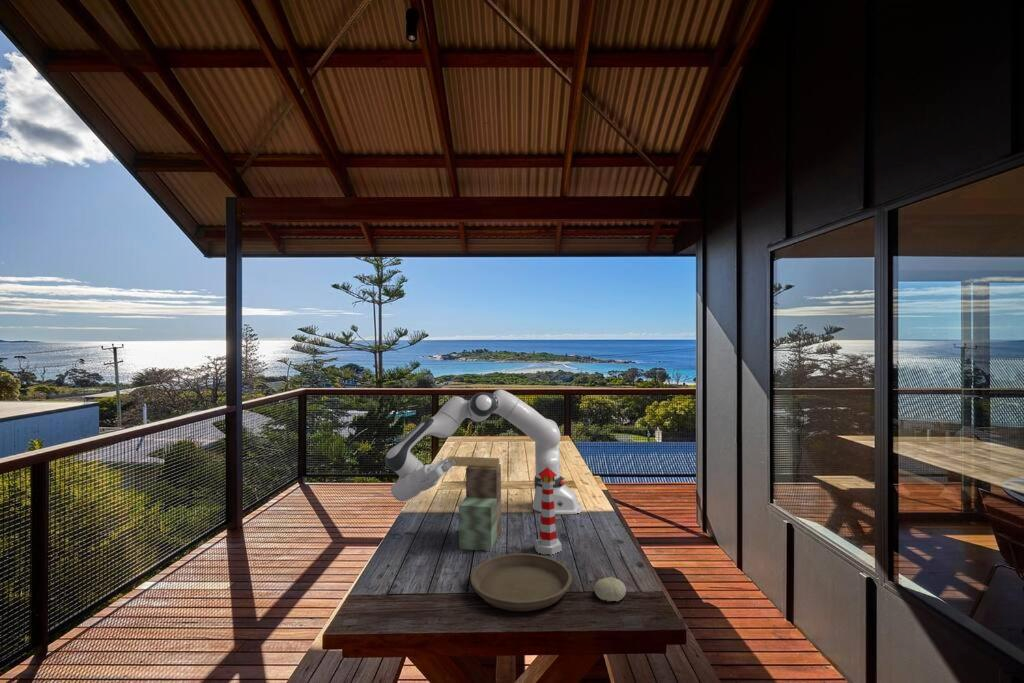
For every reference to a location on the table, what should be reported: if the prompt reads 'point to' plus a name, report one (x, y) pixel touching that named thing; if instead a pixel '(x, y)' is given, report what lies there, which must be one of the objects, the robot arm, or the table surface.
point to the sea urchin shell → (610, 589)
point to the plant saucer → (521, 581)
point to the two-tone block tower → (480, 509)
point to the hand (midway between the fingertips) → (456, 460)
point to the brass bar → (475, 461)
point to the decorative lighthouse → (547, 517)
